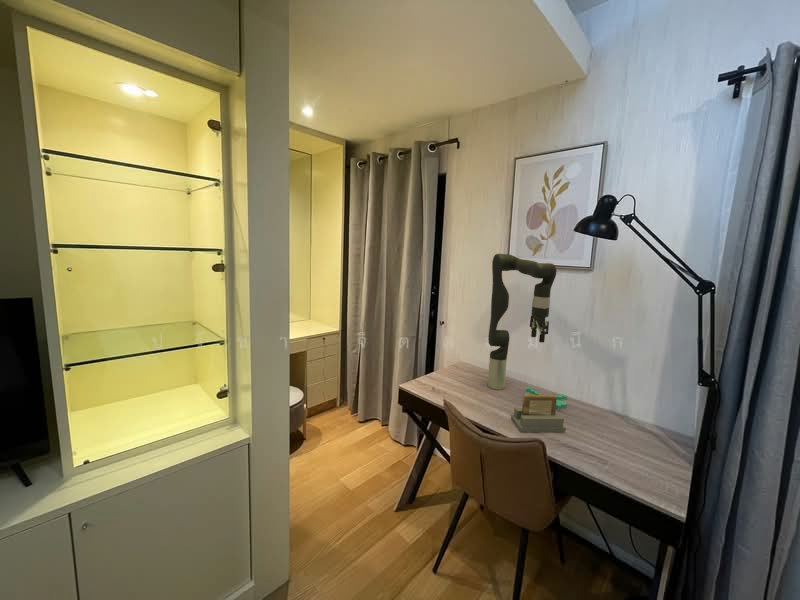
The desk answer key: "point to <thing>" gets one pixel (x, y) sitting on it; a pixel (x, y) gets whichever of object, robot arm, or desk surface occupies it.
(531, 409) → the walnut frame
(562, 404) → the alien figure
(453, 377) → the desk surface
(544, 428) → the picture ledge
